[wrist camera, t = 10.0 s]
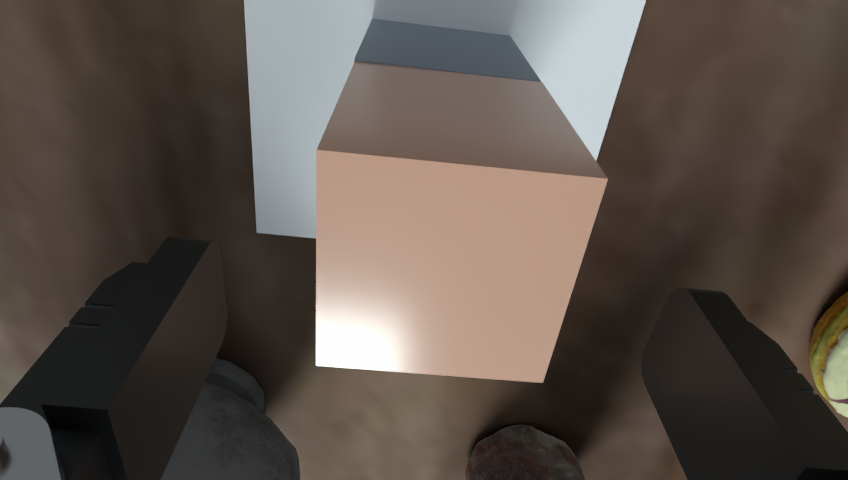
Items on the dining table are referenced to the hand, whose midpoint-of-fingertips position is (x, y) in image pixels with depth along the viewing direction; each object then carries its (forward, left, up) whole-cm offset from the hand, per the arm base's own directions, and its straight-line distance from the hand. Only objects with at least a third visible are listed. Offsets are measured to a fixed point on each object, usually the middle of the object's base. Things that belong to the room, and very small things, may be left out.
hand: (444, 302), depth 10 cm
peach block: (0, 0, -7) cm, 7 cm away
